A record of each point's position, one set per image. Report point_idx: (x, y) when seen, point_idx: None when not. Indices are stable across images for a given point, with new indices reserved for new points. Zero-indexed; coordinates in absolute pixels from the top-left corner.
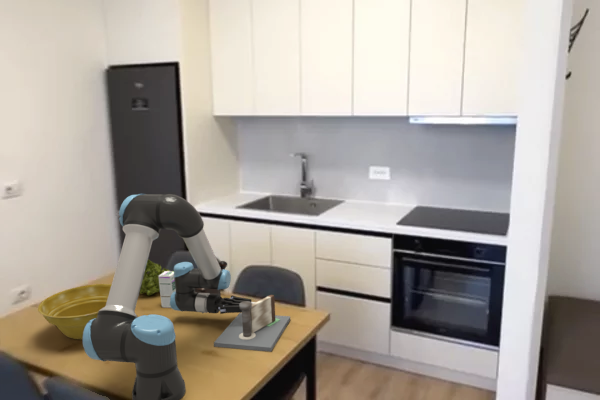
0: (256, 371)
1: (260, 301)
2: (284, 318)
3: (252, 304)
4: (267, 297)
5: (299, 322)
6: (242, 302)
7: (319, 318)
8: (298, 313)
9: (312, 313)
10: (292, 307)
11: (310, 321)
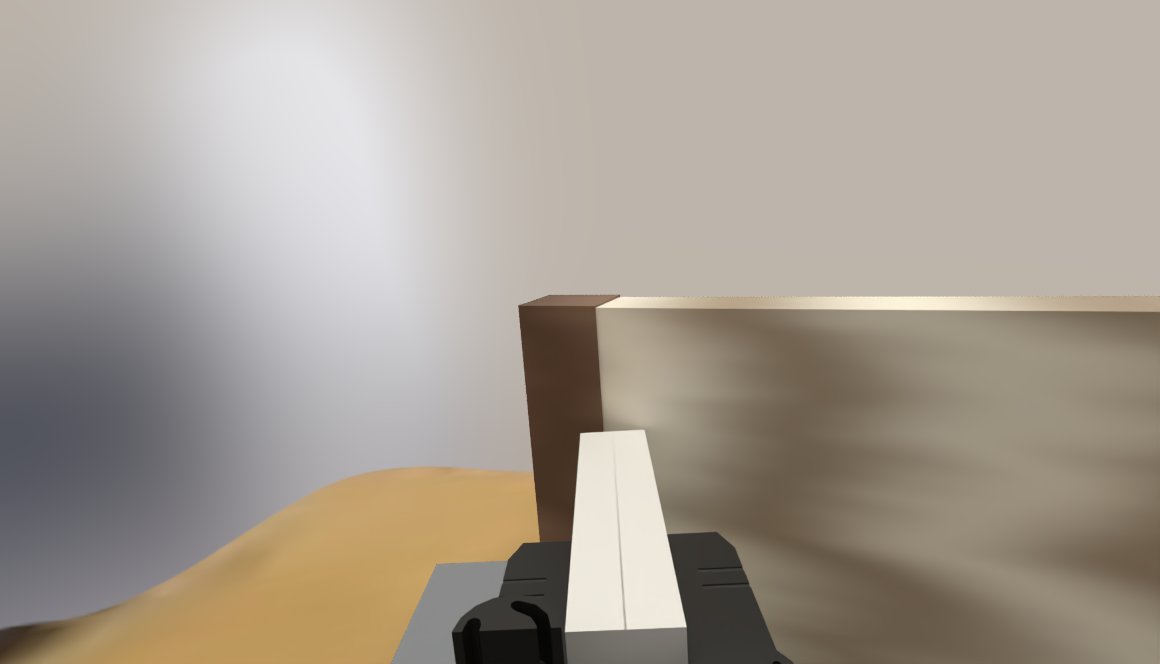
0: None
1: (847, 302)
2: (488, 590)
3: (1093, 307)
4: (638, 304)
5: (499, 540)
6: None
7: (434, 477)
8: (294, 581)
9: (332, 513)
10: (86, 656)
11: (482, 498)
